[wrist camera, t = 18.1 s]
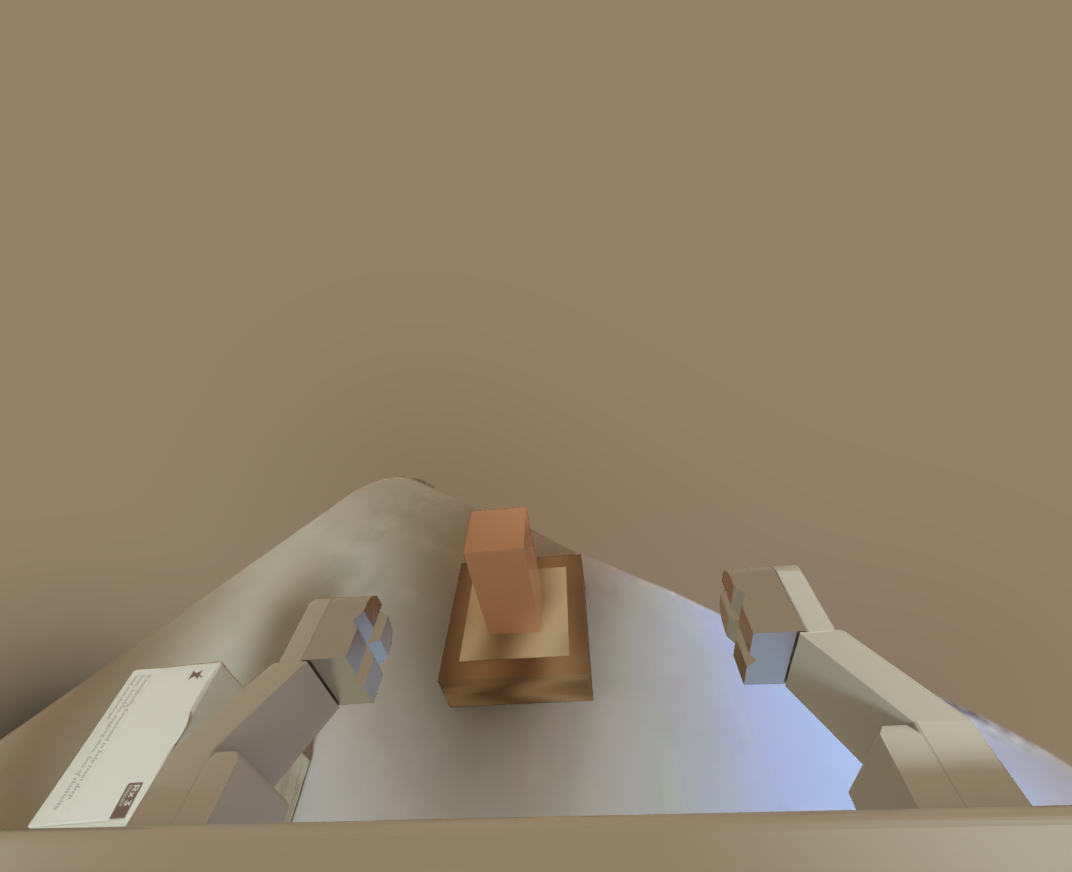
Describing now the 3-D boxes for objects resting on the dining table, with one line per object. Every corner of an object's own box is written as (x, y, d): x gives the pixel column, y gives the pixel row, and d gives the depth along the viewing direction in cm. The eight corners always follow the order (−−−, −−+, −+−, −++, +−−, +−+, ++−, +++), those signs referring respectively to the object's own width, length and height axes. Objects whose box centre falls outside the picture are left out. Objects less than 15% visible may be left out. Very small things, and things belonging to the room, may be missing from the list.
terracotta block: (489, 634, 40) (463, 553, 35) (494, 591, 44) (471, 511, 38) (541, 631, 40) (523, 548, 34) (542, 587, 43) (526, 506, 38)
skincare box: (244, 767, 38) (133, 662, 30) (317, 760, 37) (224, 652, 29) (180, 913, 31) (12, 827, 23) (269, 906, 30) (130, 816, 22)
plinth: (449, 707, 39) (437, 680, 37) (470, 589, 49) (461, 562, 47) (593, 700, 38) (589, 672, 36) (584, 581, 48) (580, 553, 46)
